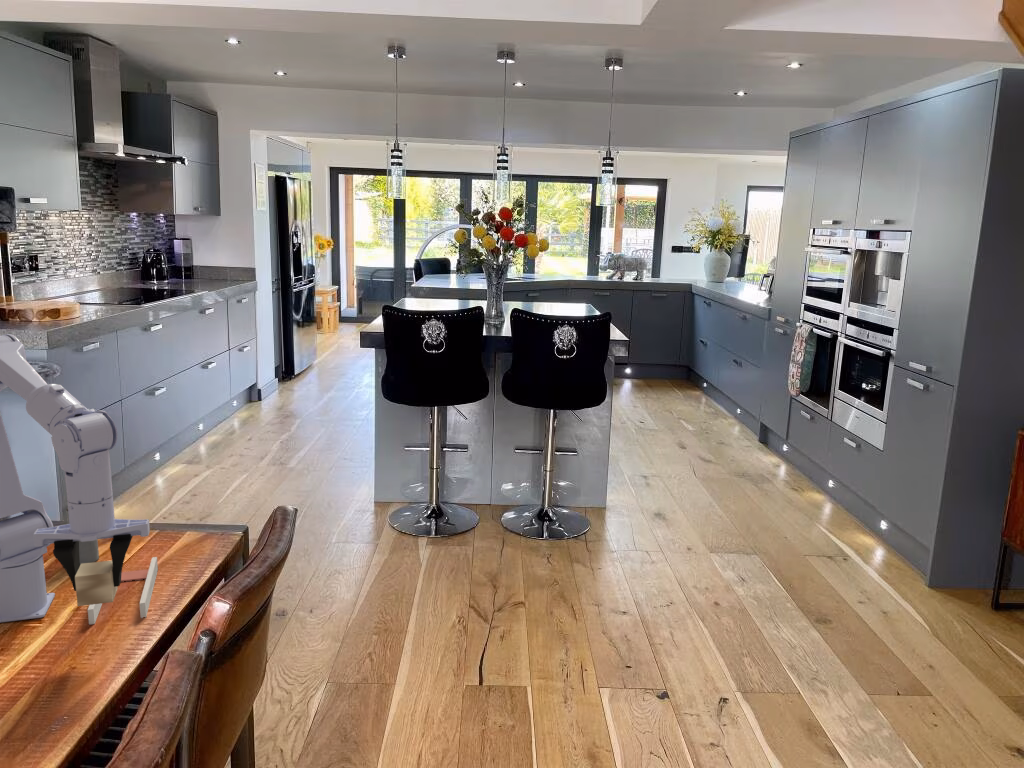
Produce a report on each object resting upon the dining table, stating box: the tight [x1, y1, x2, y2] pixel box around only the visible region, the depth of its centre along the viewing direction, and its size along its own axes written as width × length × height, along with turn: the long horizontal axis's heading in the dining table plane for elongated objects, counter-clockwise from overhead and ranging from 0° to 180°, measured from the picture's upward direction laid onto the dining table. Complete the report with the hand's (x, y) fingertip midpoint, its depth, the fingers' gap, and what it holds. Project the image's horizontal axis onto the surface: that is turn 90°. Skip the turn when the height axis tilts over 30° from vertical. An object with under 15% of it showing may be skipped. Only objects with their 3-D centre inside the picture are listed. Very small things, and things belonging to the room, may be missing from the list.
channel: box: [87, 556, 159, 625], centre depth 129 cm, size 8×18×2 cm, turn 19°
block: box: [75, 559, 119, 607], centre depth 111 cm, size 4×4×4 cm
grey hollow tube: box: [65, 507, 100, 565], centre depth 141 cm, size 4×4×10 cm
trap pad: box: [121, 568, 149, 583], centre depth 136 cm, size 6×4×1 cm, turn 109°
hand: (98, 585), depth 112 cm, fingers closed on block, 4 cm apart
